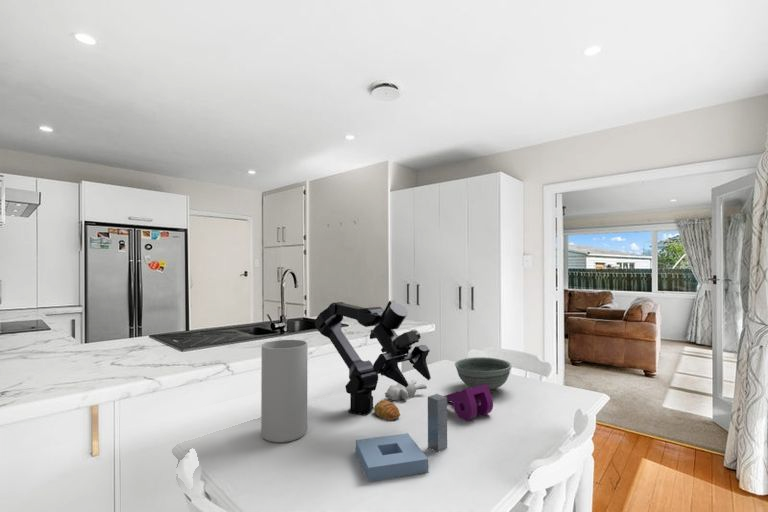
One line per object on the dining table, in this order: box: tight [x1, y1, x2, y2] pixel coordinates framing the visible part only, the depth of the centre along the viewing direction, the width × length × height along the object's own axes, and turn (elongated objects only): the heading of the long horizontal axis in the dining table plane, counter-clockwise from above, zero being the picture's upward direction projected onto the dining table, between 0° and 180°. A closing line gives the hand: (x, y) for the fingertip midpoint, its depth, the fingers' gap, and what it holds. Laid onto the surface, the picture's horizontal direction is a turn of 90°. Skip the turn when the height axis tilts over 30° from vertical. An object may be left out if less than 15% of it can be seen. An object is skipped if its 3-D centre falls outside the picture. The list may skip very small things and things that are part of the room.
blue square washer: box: [355, 432, 429, 483], centre depth 94 cm, size 14×14×3 cm
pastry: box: [373, 399, 401, 421], centre depth 122 cm, size 9×7×4 cm
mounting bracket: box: [444, 384, 494, 421], centre depth 126 cm, size 10×8×18 cm
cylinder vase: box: [260, 339, 308, 444], centre depth 109 cm, size 12×12×25 cm
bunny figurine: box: [384, 379, 427, 402], centre depth 140 cm, size 10×5×15 cm
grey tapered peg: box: [427, 393, 448, 453], centre depth 101 cm, size 4×4×13 cm
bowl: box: [454, 356, 512, 393], centre depth 147 cm, size 21×21×10 cm
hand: (418, 382), depth 108 cm, fingers open, 9 cm apart
